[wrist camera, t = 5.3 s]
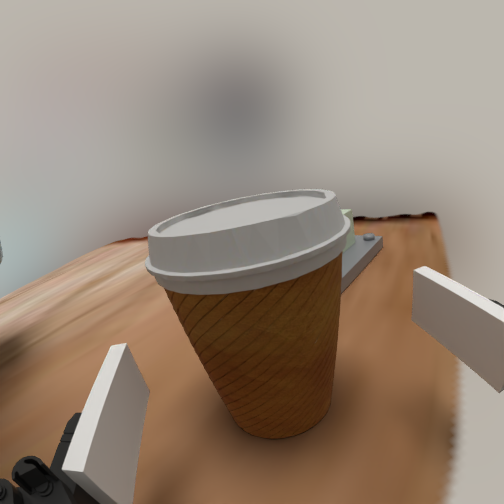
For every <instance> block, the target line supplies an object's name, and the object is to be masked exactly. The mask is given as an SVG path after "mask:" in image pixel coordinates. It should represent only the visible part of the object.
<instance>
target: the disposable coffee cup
mask: <svg viewBox="0 0 504 504" xmlns="http://www.w3.org/2000/svg"><path fill="white" fill-rule="evenodd" d="M349 232H350V220H349V218H348V217H346V216H345V215H343V214H342V211H341V209H340V206H339V203H338V200H337V198H336V195H335V193H334V192H332V191H328V190H320V189H304V190H303V189H302V190H290V191H280V192H272V193H265V194H259V195H253V196H248V197H242V198H237V199H233V200H229V201H225V202H220V203H216V204H212V205H208V206H205V207H201V208H198V209H194V210H191V211H188V212H186V213H182V214H179V215H177V216H174V217H172V218H169V219H167V220H165V221H163V222H161V223H158V224H157V225H155V226H154V227H152V228H151V229H150V230H149V231H148V246H149V256H148V257H147V258H146V261H145V266H146V268H147V271H148V272H149V273H150V274H151V275H153V276H155V278H156V281H157V282H158V284H159V285H160V286H162V287H164V289H165V291H166V293H167V295H168V298H169V300H170V302H171V303H172V305H173V308H174V311H175V312H176V314H177V316H178V318H179V321H180V323H181V324H182V326H183V328H184V331H185V333H186V334H187V336H188V338H189V340H190V342H191V344H192V346H193V348H194V350H195V352H196V354H197V355H198V357H199V359H200V361H201V363H202V364H203V366H204V369H205V370H206V372H207V373H208V375H209V378H210V379H211V381H212V382H213V385H214V386H215V388H216V389H217V390H218V391H217V392H218V393H219V395H220V396H221V397H222V398H221V399H222V400H223V402H224V403H225V404H226V407H227V408H228V410H230V411H229V412H230V413H231V415H232V416H233V419H234V420H235V422H236V423H237V425H238V426H239V427H241V428H242V429H243V430H244V431H246V432H248V433H250V434H252V435H255V436H258V437H262V438H270V439H275V438H286V437H290V436H294V435H297V434H300V433H303V432H305V431H306V430H308V429H310V428H311V427H313V426H314V425H316V424H317V423H318V422H319V421H320V420H321V419H322V418H323V417H324V415H325V414H326V413H327V411H328V409H329V406H330V402H331V394H332V386H333V378H334V369H335V360H336V351H337V340H338V327H339V316H340V297H341V280H342V253H343V249H344V248H345V246H346V243H347V239H346V236H347V235H348V233H349Z"/></svg>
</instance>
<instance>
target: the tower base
mask: <svg viewBox="0 0 504 504" xmlns="http://www.w3.org/2000/svg"><path fill="white" fill-rule="evenodd" d="M341 211H342V214H343V215H345V216H346V217H348V218H349V220H350V232H349V233H348V235H347V236H346V239H347V243H346V246H345V248H344V249H343V253H342V280H341V293H342V292H343V291H344V290H345V289H346V288H347V287H348V286H349V285H350V283H351V282H352V281H353V280H354V279H355V278H356V277H357V276H358V275H359V274H360V272H361V271H362V270H363V269H364V268H365V267H366V266H367V265H368V263H369V262H370V261H371V260H372V259H373V258H374V256H375V255H376V254H377V253H378V252H379V251H380V250H381V248H382V247H383V239H382V236H375V235H374V234H372V233H367V234H364V235H363V236H357V235H355V234H354V225H353V216H352V210H351V209H350V210H349V209H347V210H341Z"/></svg>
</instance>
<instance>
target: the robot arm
mask: <svg viewBox="0 0 504 504" xmlns="http://www.w3.org/2000/svg"><path fill="white" fill-rule="evenodd" d="M2 257H3V255H2V248H1V242H0V263H1V261H2ZM412 321H413V322H415V323H416V324H417V325H418V326H420V327H421V328H422V329H423V330H425V331H426V332H427V333H428V334H430V335H431V336H432V337H433V338H435V339H436V340H437V341H438V342H440V343H441V344H442V345H443V346H444V347H446V348H447V349H448V350H449V351H451V352H452V353H453V354H454V355H455V356H457V357H458V358H459V359H460V360H461V361H463V362H464V363H465V364H466V365H467V366H468V367H470V368H471V369H472V370H473V371H475V372H476V373H477V374H478V375H479V376H480V377H481V378H483V379H484V380H485V381H486V382H487V383H488V384H489V385H491V386H492V387H493V388H494V389H495V390H496V391H498V392H499V393H500V392H501V391H503V390H504V305H502V304H500V303H499V302H497V301H494V300H490V299H487V298H485V297H483V296H481V295H480V294H478V293H476V292H474V291H472V290H470V289H468V288H467V287H465V286H463V285H461V284H459V283H457V282H455V281H453V280H452V279H450V278H448V277H446V276H444V275H442V274H440V273H438V272H436V271H434V270H432V269H430V268H428V267H426V266H424V267H421V268H418V269H415V270H413V304H412ZM149 393H150V391H149V389H148V387H147V385H146V383H145V381H144V379H143V377H142V375H141V373H140V371H139V369H138V367H137V365H136V362H135V360H134V358H133V356H132V354H131V352H130V349H129V347H128V345H127V343H124V344H118V345H112V346H111V347H110V349H109V352H108V354H107V356H106V358H105V360H104V362H103V365H102V367H101V369H100V371H99V374H98V376H97V378H96V380H95V383H94V385H93V387H92V390H91V392H90V395H89V397H88V399H87V402H86V404H85V407H84V409H83V412H82V413H75V414H74V415H73V417H72V418H71V419H70V420H69V421H68V423H67V425H66V427H65V430H64V432H63V433H64V435H62V437H61V440H60V441H61V443H59V445H58V448H57V450H56V453H55V456H54V458H53V461H52V464H51V466H50V469H49V468H48V467H47V466H46V465H45V464H44V463H43V462H42V461H41V459H39V458H37V457H35V456H27V457H24V458H22V459H21V460H19V461H18V462H17V463H16V465H15V466H14V468H13V471H12V480H13V481H14V482H16V483H17V484H18V485H19V486H20V487H17V488H16V487H15V486H14V485H12V484H11V483H10V482H9V481H8V480H6V479H0V504H133V497H134V488H135V480H136V472H137V465H138V458H139V451H140V444H141V438H142V432H143V426H144V420H145V414H146V409H147V403H148V398H149Z"/></svg>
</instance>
